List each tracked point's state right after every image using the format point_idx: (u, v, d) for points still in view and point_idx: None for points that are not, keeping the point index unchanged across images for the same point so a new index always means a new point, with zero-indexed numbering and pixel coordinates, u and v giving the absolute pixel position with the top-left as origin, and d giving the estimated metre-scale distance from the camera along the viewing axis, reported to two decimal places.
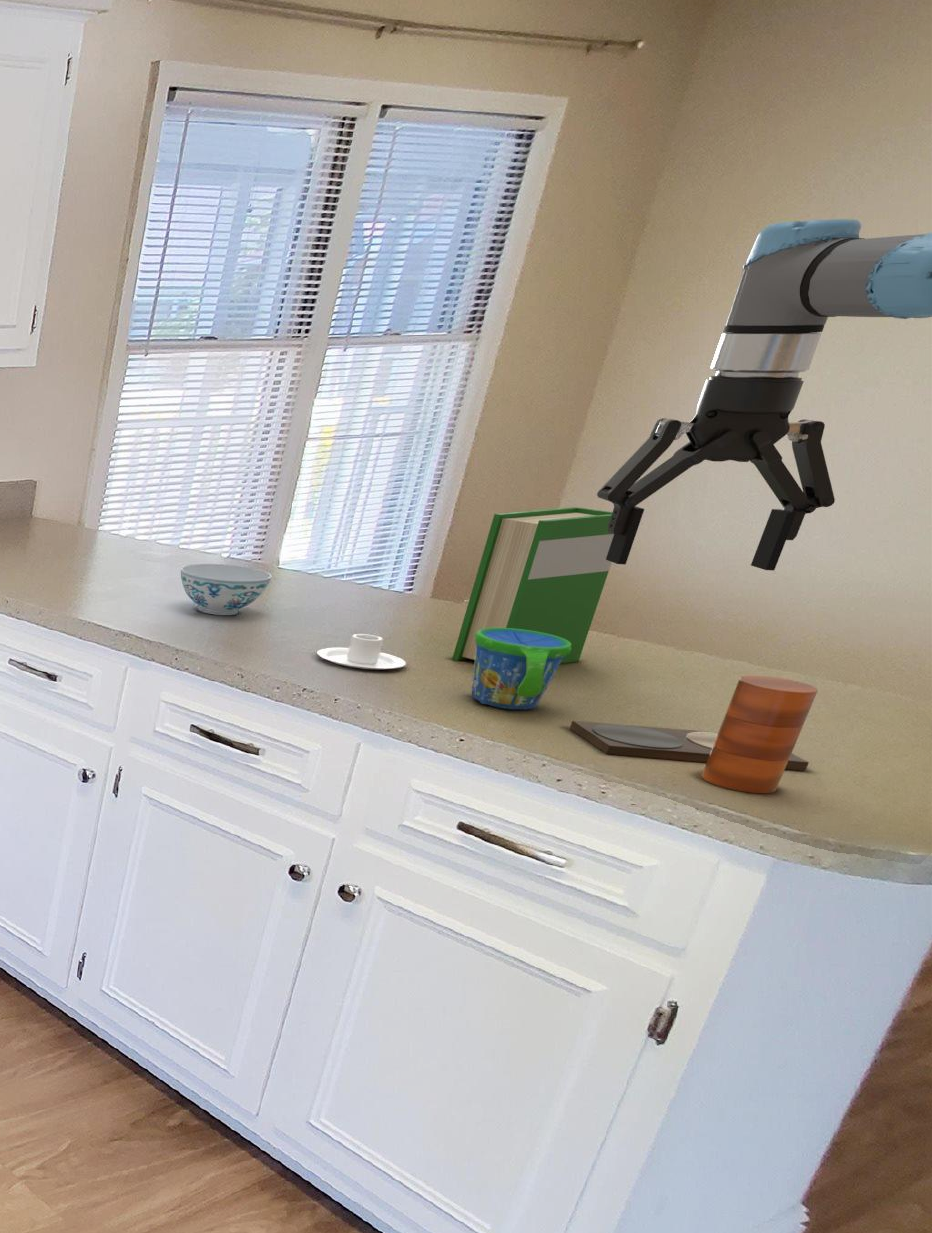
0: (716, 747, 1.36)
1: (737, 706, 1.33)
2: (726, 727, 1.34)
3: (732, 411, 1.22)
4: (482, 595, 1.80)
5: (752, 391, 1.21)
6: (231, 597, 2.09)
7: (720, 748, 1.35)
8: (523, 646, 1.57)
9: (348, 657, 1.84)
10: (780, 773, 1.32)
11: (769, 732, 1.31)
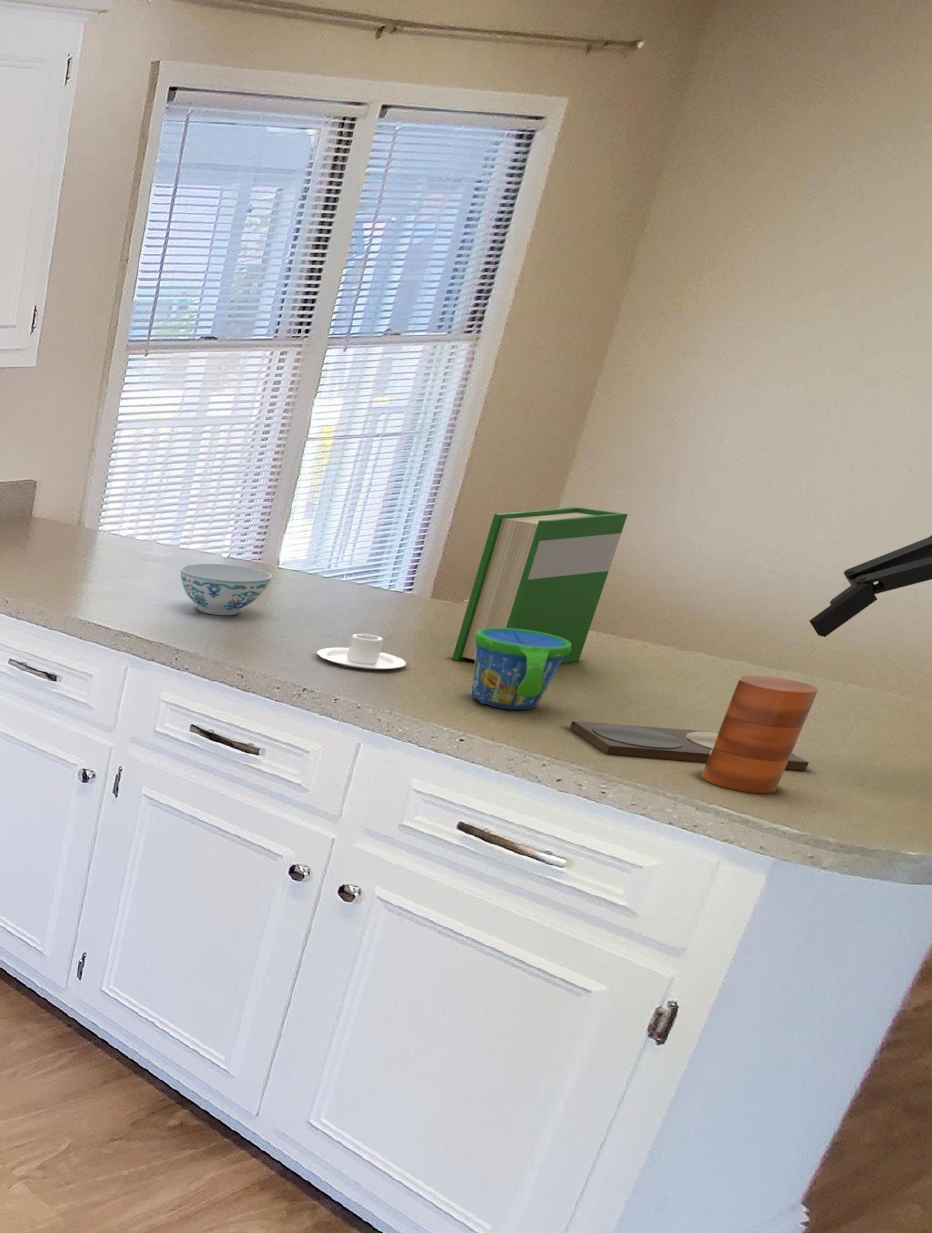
0: (716, 747, 1.36)
1: (737, 706, 1.33)
2: (726, 727, 1.34)
3: None
4: (482, 595, 1.80)
5: None
6: (231, 597, 2.09)
7: (720, 748, 1.35)
8: (523, 646, 1.57)
9: (348, 657, 1.84)
10: (780, 773, 1.32)
11: (769, 732, 1.31)
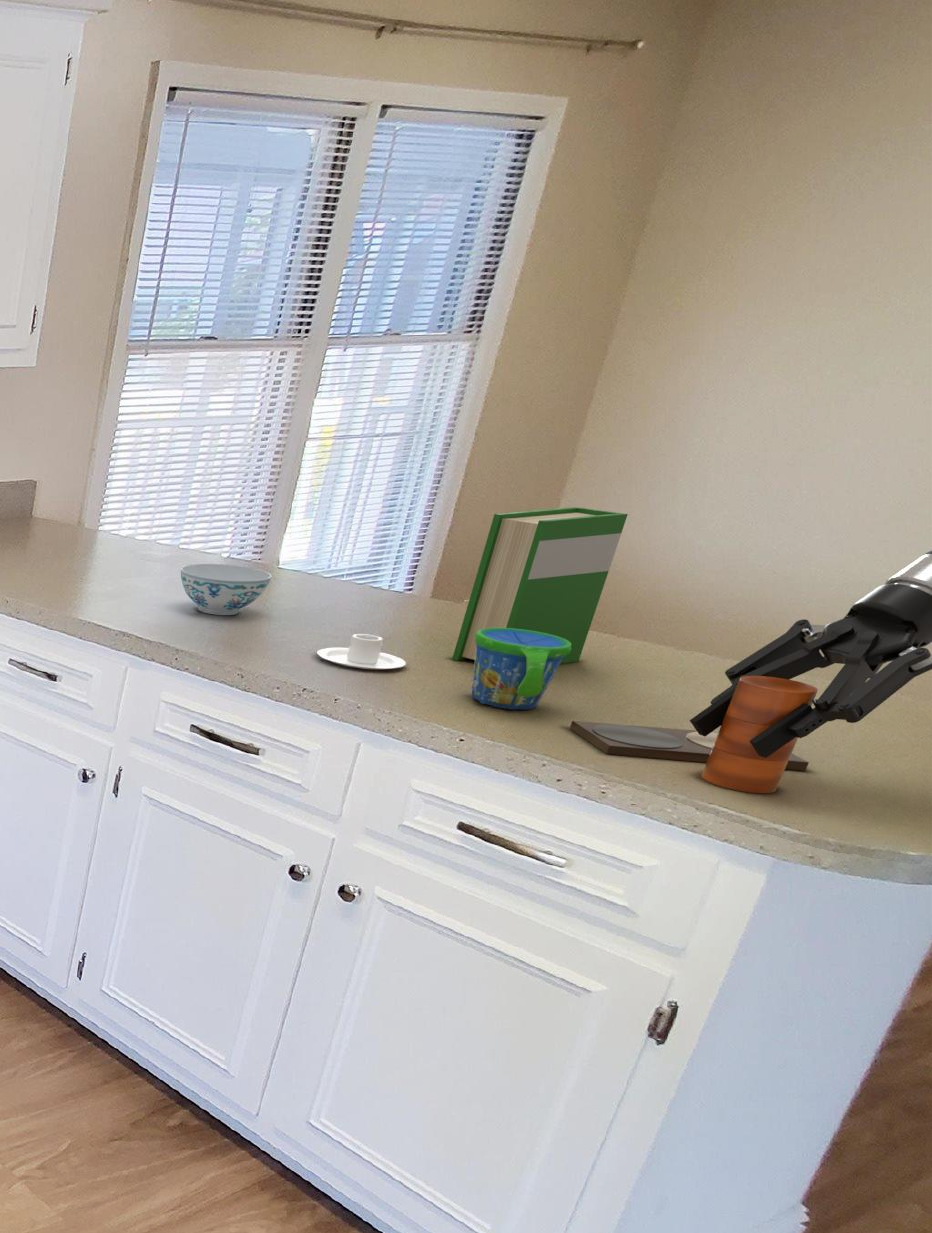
0: (716, 747, 1.36)
1: (737, 706, 1.33)
2: (726, 727, 1.34)
3: (855, 606, 1.31)
4: (482, 595, 1.80)
5: (878, 590, 1.29)
6: (231, 597, 2.09)
7: (720, 748, 1.35)
8: (523, 646, 1.57)
9: (348, 657, 1.84)
10: (780, 773, 1.32)
11: None
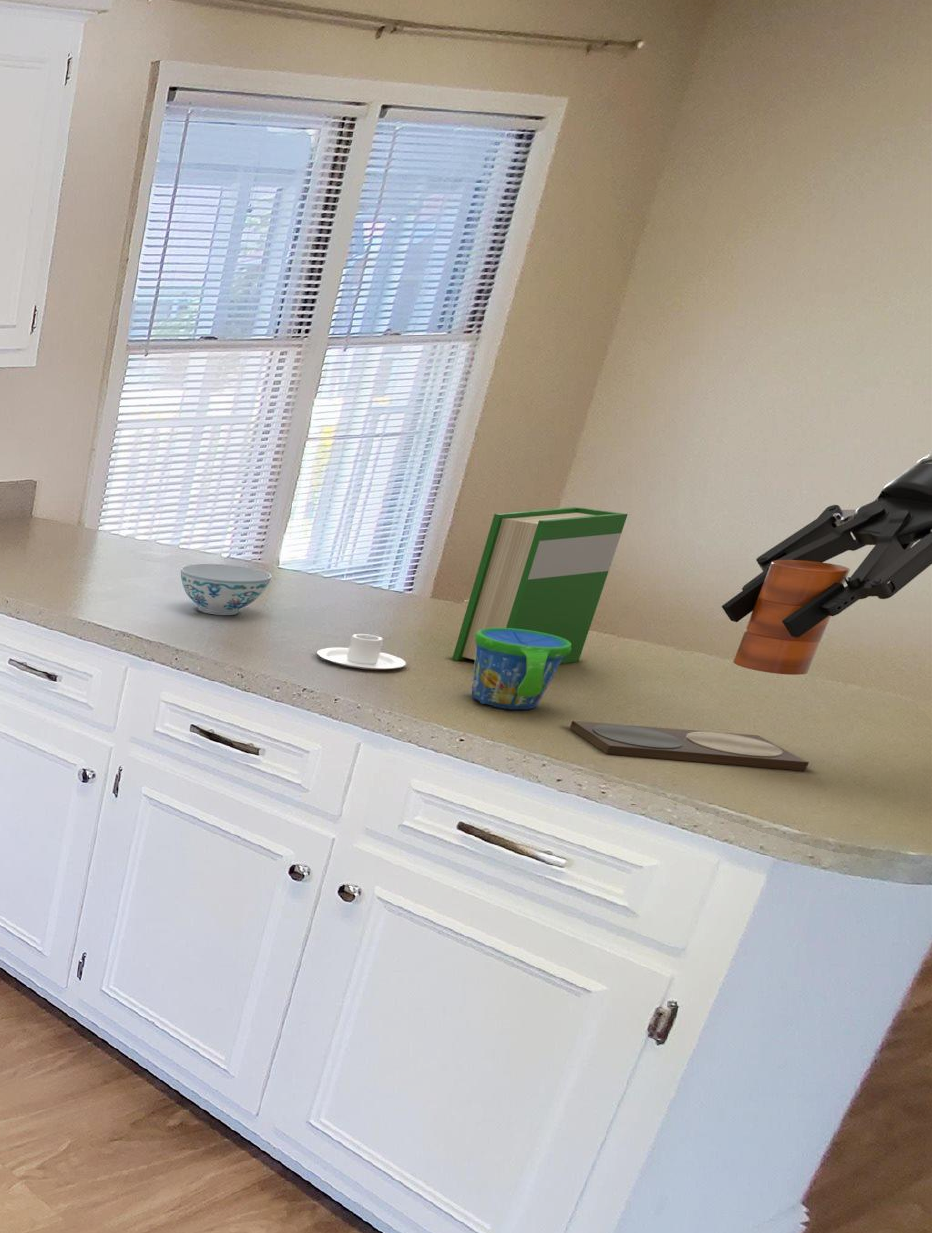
0: (748, 631, 1.38)
1: (769, 589, 1.35)
2: (759, 610, 1.36)
3: (886, 487, 1.33)
4: (482, 595, 1.80)
5: (909, 470, 1.31)
6: (231, 597, 2.09)
7: (752, 632, 1.37)
8: (523, 646, 1.57)
9: (348, 657, 1.84)
10: (811, 653, 1.34)
11: None
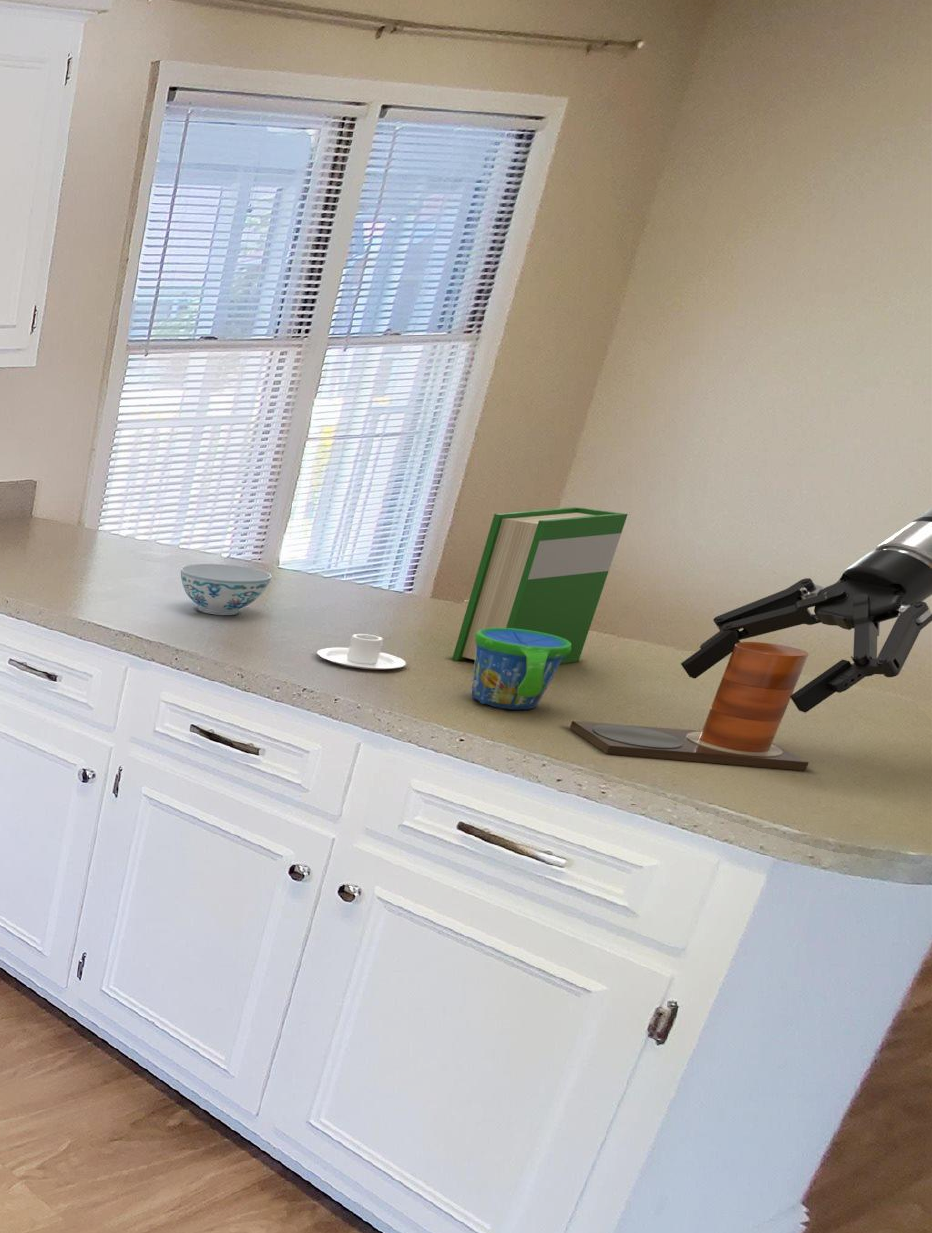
0: (713, 709, 1.44)
1: (732, 670, 1.42)
2: (723, 690, 1.43)
3: (847, 571, 1.39)
4: (482, 595, 1.80)
5: (868, 555, 1.37)
6: (231, 597, 2.09)
7: (717, 710, 1.44)
8: (523, 646, 1.57)
9: (348, 657, 1.84)
10: (773, 732, 1.41)
11: (763, 693, 1.39)
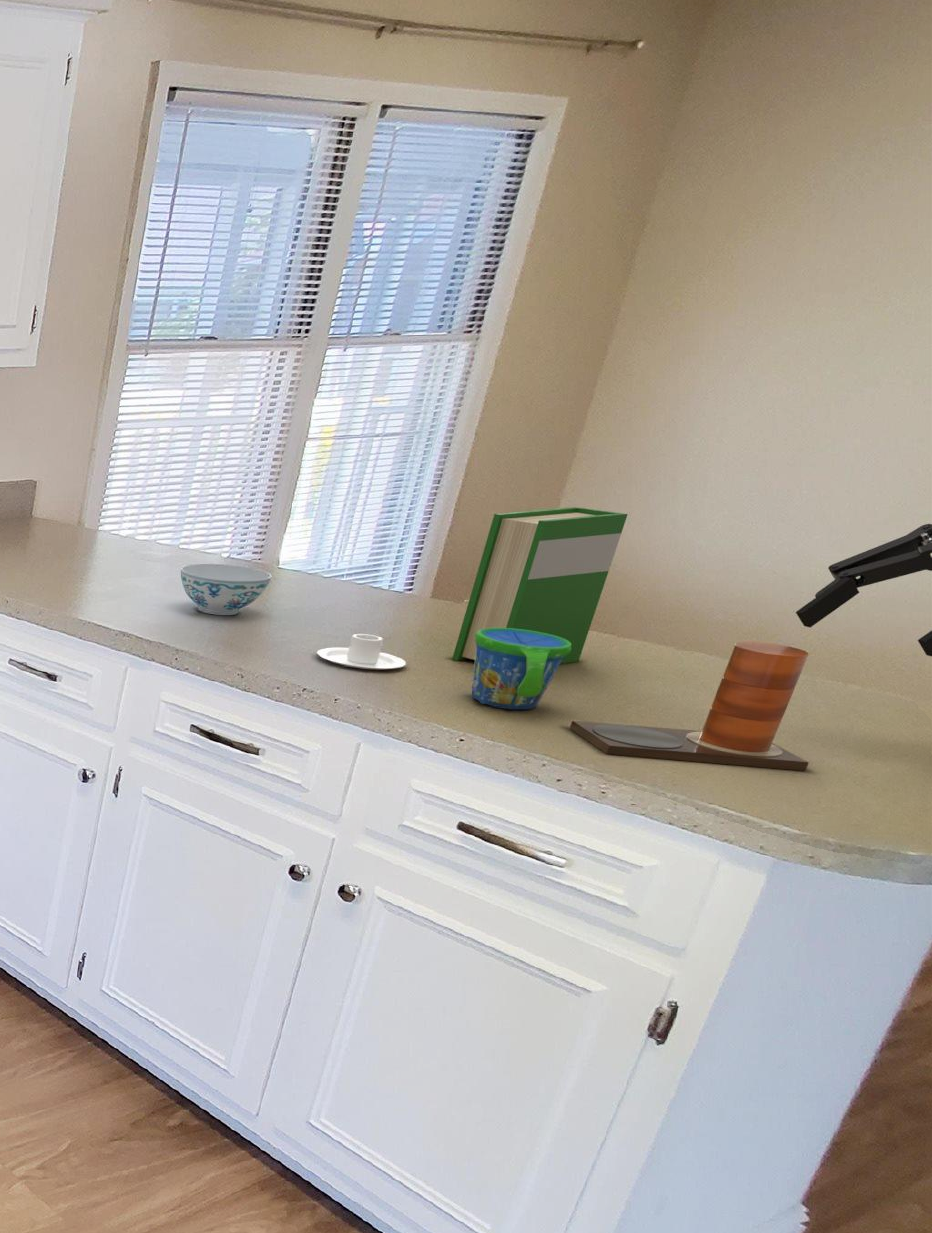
0: (713, 709, 1.44)
1: (732, 670, 1.42)
2: (723, 690, 1.43)
3: None
4: (482, 595, 1.80)
5: None
6: (231, 597, 2.09)
7: (717, 710, 1.44)
8: (523, 646, 1.57)
9: (348, 657, 1.84)
10: (773, 732, 1.41)
11: (763, 693, 1.39)
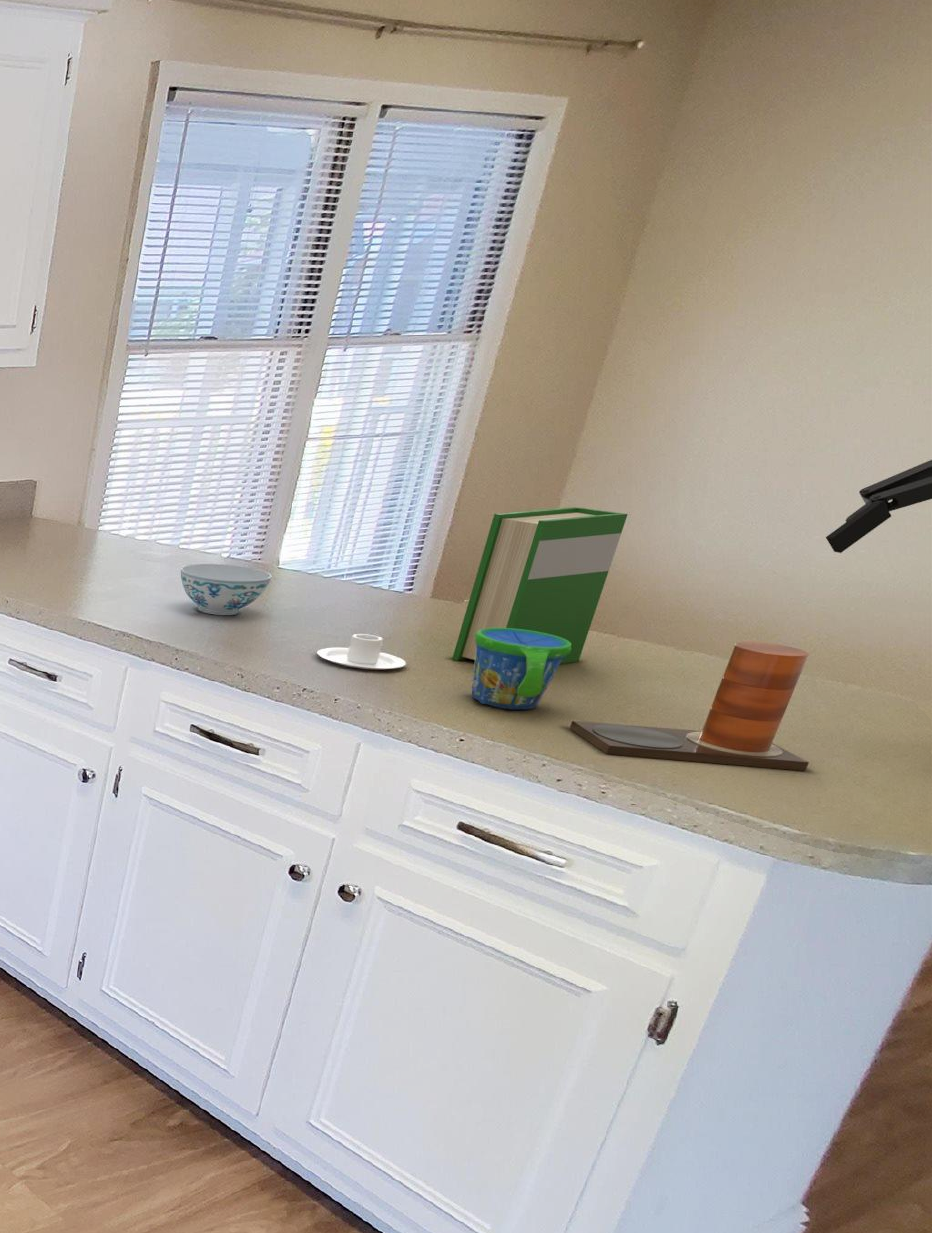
0: (713, 709, 1.44)
1: (732, 670, 1.42)
2: (723, 690, 1.43)
3: None
4: (482, 595, 1.80)
5: None
6: (231, 597, 2.09)
7: (717, 710, 1.44)
8: (523, 646, 1.57)
9: (348, 657, 1.84)
10: (773, 732, 1.41)
11: (763, 693, 1.39)
